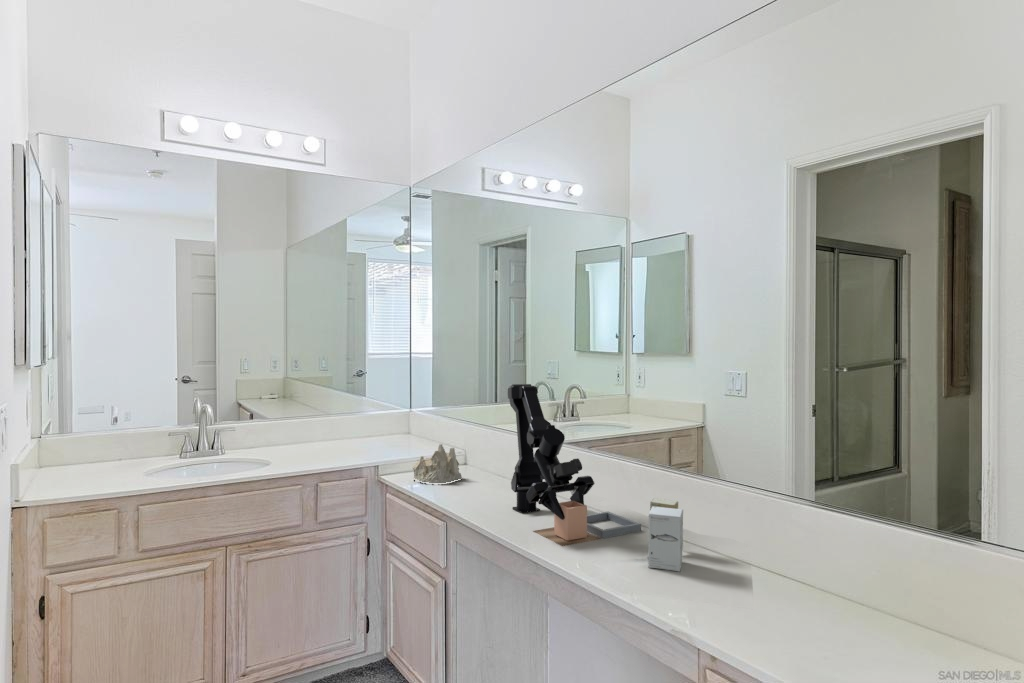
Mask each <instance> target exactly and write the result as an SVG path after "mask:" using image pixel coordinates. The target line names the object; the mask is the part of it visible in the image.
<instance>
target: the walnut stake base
mask: <svg viewBox="0 0 1024 683" xmlns="http://www.w3.org/2000/svg"><path fill="white" fill-rule="evenodd" d="M532 532H533V533H535V534H537V535H539V536H541V537H543V538H545V539H547V540H549V541H551V542H553V543H555V544H557V545H559V546H561V547H566V546H571V545H574V544H575V545H576V544H582V543H585V542H591V541H596V540H601V539H602V538H601V537H598V536H596V535H594V534H592V533H589V532H587V537H584V538H579V539H574V540H569V541H567V540H565V539H563V538H561V537H559V536H557V535H555V534H554V526H553V527H549V528H542V529H536V530H532Z"/></svg>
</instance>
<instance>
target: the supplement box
mask: <svg viewBox="0 0 1024 683" xmlns="http://www.w3.org/2000/svg"><path fill="white" fill-rule="evenodd" d="M683 535H684V509H682V508H678V509H674V508H664V507H654V506H652V508H651V510H650V509H649V513H648V556H647V557H648V561H647V562H648V563H647V564H648V565H647V566H648V568H649V569H650V568H651V569H660V570H667V571H675V572H679V573H680V572H681V568H682V563H683V551H684V550H683V545H684V543H683V542H684V541H683V540H684V538H683Z"/></svg>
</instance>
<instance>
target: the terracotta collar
mask: <svg viewBox="0 0 1024 683" xmlns="http://www.w3.org/2000/svg"><path fill="white" fill-rule="evenodd" d="M559 504H560V506H561V509H562V511H563V513H564V516H565V518H564V520H562V519H560V518H559V517H558V516H557V515H555V514H554V513H553V514H554V515H553V516H554V517H553V518H554V522H553V523H554V526H553V527H554V534H555V535H557V536H559V537H561V538H563V539H565V540H567V541H569V540H574V539H579V538H584V537H587V515H588V505H586V504H585V503H584V504H581V503H578V502H576V501H571V500H569V501H562V502H559Z"/></svg>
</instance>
